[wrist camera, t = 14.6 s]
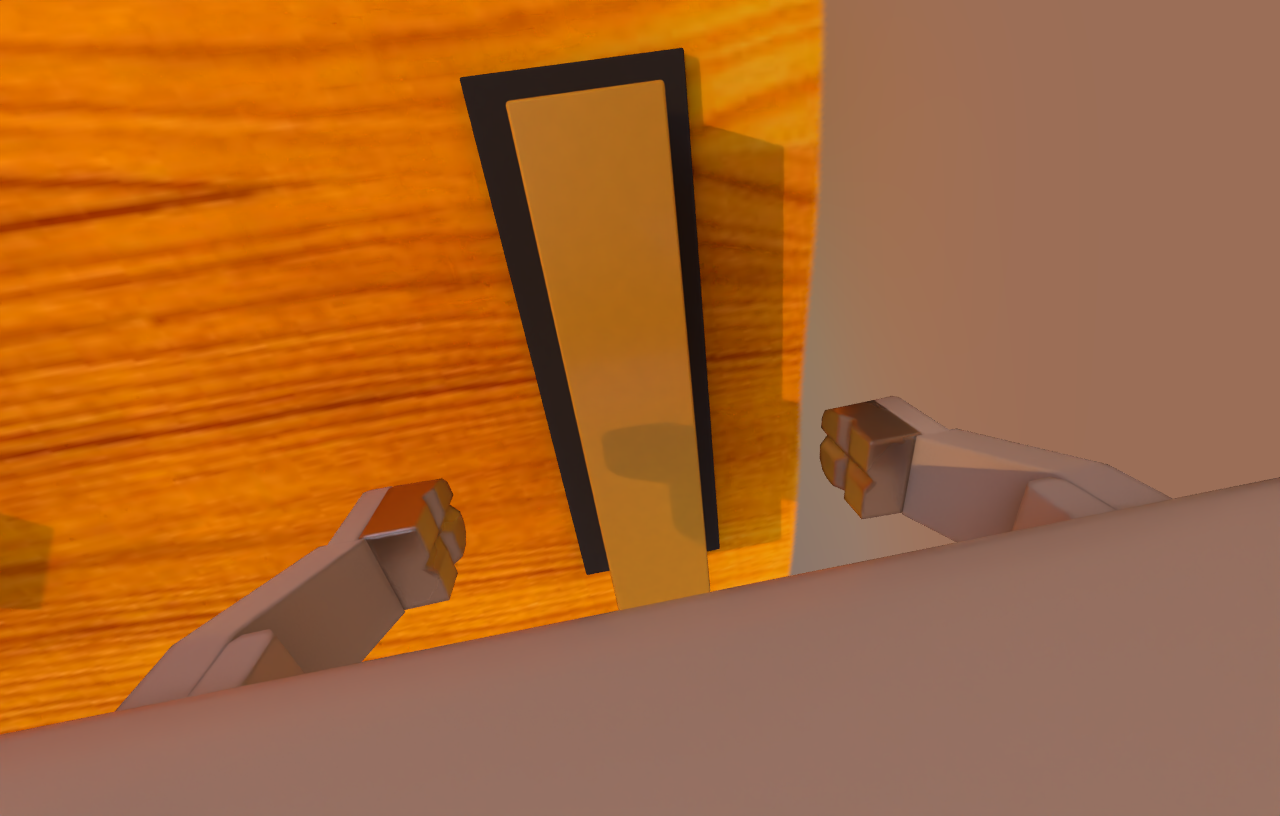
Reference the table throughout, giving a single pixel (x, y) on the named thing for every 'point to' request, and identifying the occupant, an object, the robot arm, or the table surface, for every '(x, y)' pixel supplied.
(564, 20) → the table surface
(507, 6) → the table surface
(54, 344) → the table surface
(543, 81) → the mat
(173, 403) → the table surface
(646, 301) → the bar
